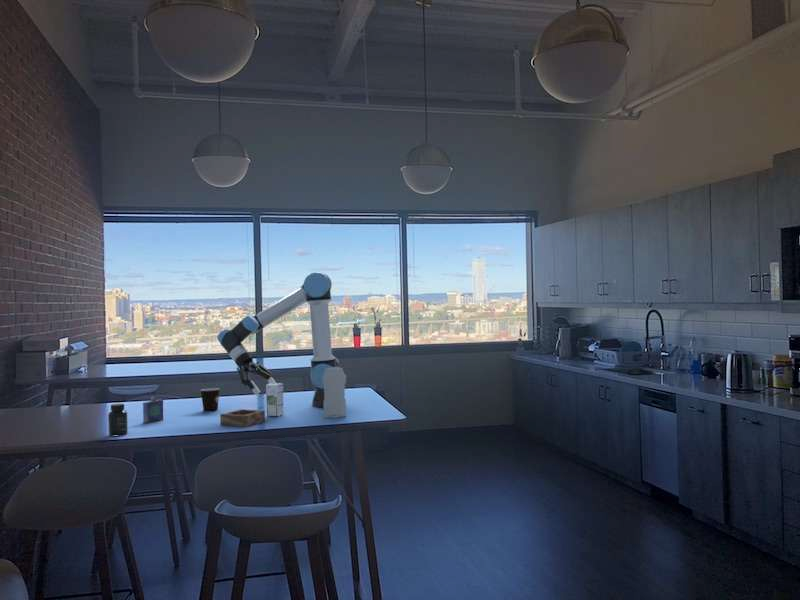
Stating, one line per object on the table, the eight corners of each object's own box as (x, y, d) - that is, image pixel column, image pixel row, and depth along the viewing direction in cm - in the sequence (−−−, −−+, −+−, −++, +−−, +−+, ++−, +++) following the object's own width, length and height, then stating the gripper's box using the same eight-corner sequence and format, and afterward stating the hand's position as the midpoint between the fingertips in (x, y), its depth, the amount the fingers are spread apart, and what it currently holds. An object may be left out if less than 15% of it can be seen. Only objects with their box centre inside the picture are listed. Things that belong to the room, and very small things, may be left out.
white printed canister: (284, 414, 285) (283, 382, 284) (277, 417, 279) (276, 384, 279) (273, 414, 286) (272, 382, 286) (266, 416, 281) (265, 384, 281)
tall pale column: (346, 415, 280) (345, 366, 280) (347, 417, 276) (346, 367, 276) (322, 416, 278) (321, 367, 277) (323, 418, 274) (322, 368, 273)
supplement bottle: (129, 432, 254) (128, 402, 253) (124, 436, 247) (124, 405, 247) (111, 433, 253) (111, 403, 252) (106, 437, 246) (105, 406, 246)
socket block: (241, 419, 276) (240, 408, 276) (264, 421, 270) (264, 410, 270) (220, 424, 264) (220, 414, 264) (244, 427, 259) (244, 416, 259)
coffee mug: (208, 412, 293) (208, 391, 293) (197, 411, 298) (196, 390, 298) (228, 408, 303) (228, 388, 302) (217, 407, 308) (217, 386, 308)
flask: (145, 423, 271) (144, 398, 271) (141, 422, 273) (141, 398, 273) (164, 420, 278) (164, 395, 278) (161, 419, 280) (160, 395, 280)
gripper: (254, 360, 302) (280, 392, 296) (218, 365, 280) (245, 401, 274) (263, 349, 300) (289, 382, 294) (227, 354, 278) (254, 389, 271)
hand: (268, 391), depth 284 cm, fingers open, 13 cm apart
